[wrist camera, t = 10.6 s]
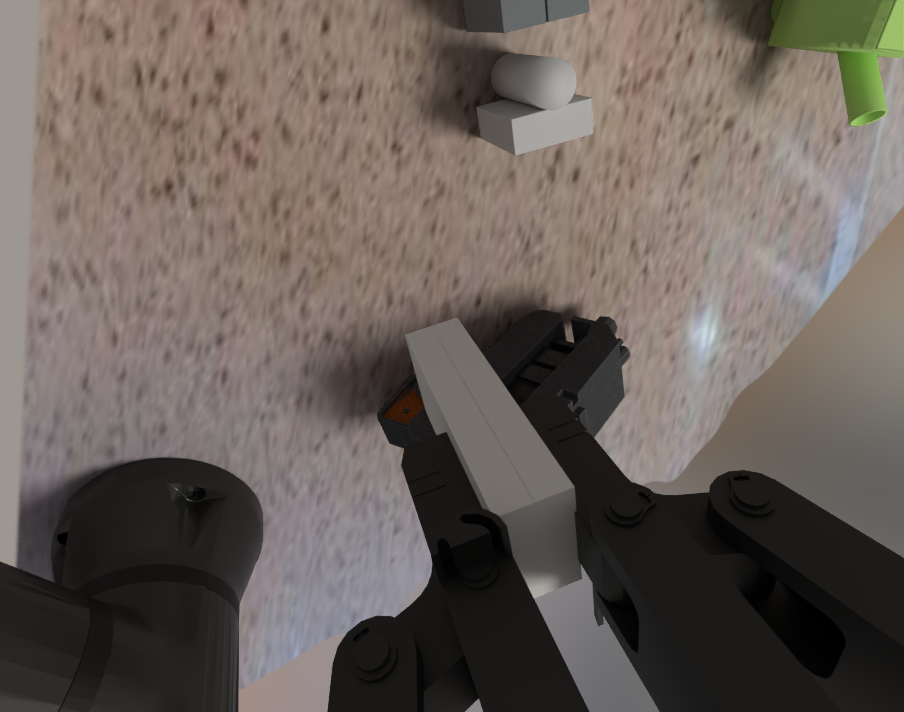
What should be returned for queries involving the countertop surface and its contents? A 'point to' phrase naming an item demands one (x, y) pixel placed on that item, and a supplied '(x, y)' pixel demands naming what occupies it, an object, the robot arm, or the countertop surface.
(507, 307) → the countertop surface
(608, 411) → the tool
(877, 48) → the kettle
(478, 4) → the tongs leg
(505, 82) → the tongs base
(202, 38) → the countertop surface
